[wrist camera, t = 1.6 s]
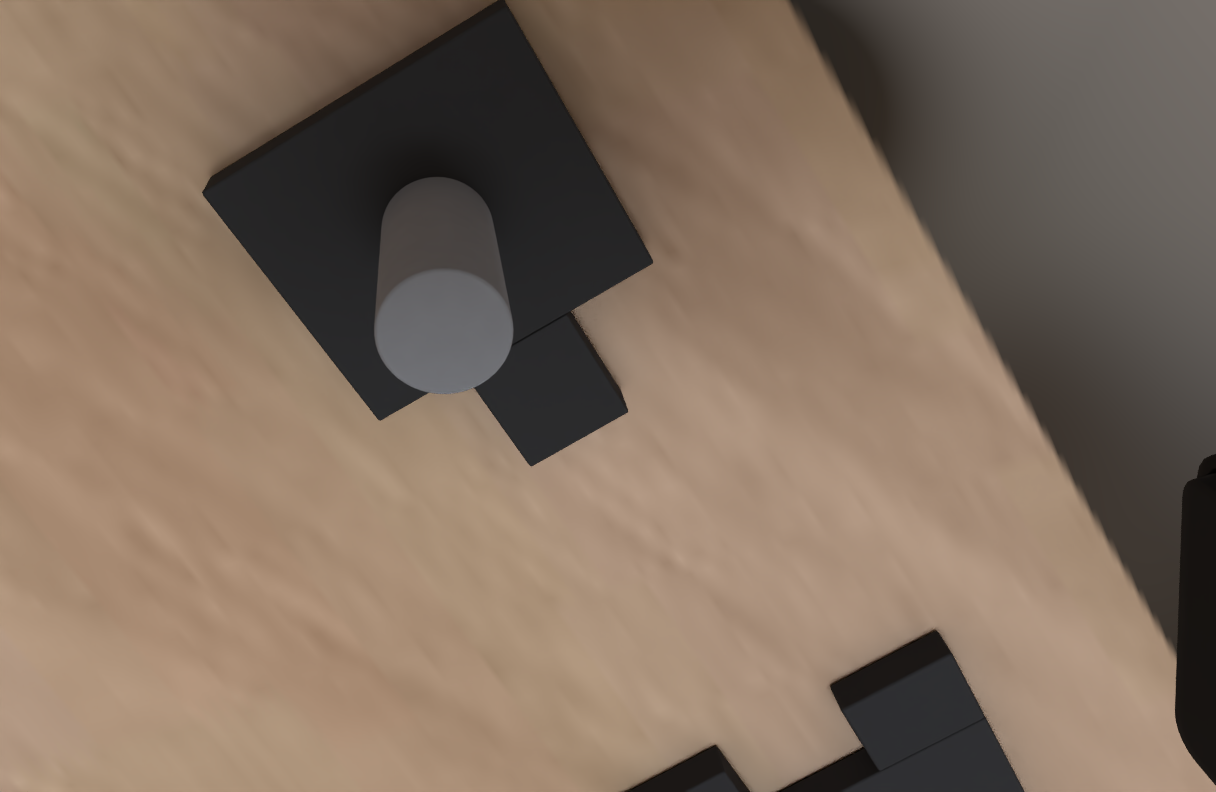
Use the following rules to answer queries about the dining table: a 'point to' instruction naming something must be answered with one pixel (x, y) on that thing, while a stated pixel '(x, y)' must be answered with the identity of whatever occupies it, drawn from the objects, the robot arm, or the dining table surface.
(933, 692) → the big pad
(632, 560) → the dining table surface
